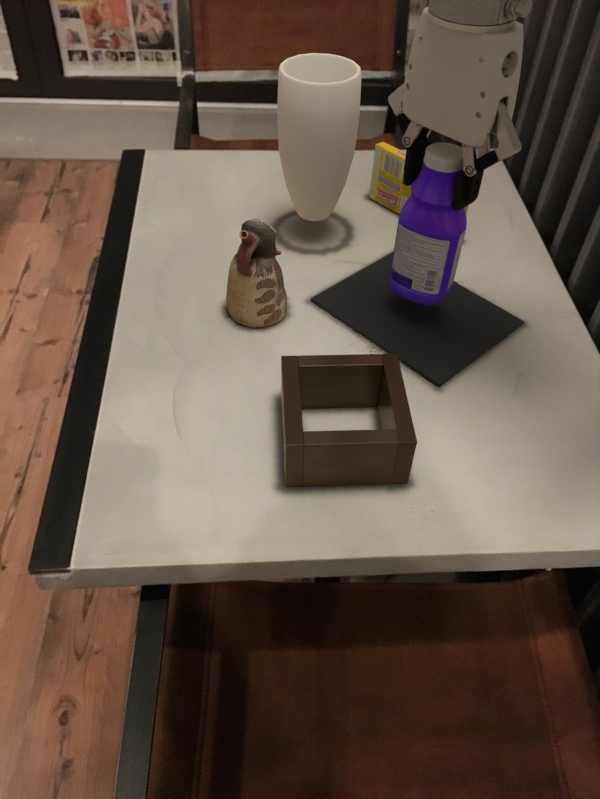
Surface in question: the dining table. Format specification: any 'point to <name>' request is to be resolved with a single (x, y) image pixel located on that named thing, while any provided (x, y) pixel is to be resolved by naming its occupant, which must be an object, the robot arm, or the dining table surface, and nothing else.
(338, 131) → the cup
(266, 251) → the figurine
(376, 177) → the candy box
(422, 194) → the bottle
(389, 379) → the holder
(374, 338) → the mat
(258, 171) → the dining table surface
